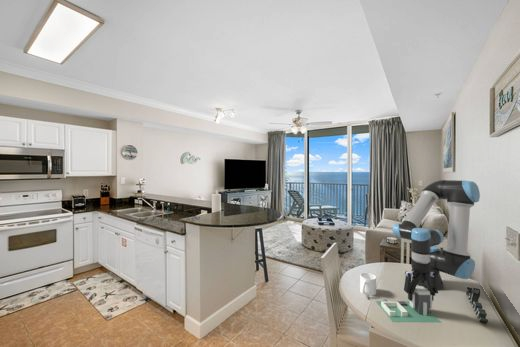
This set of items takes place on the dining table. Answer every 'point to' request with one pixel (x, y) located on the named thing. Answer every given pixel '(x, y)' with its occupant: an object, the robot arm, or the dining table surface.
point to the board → (412, 314)
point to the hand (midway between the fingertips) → (420, 306)
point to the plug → (422, 300)
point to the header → (393, 304)
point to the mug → (367, 284)
